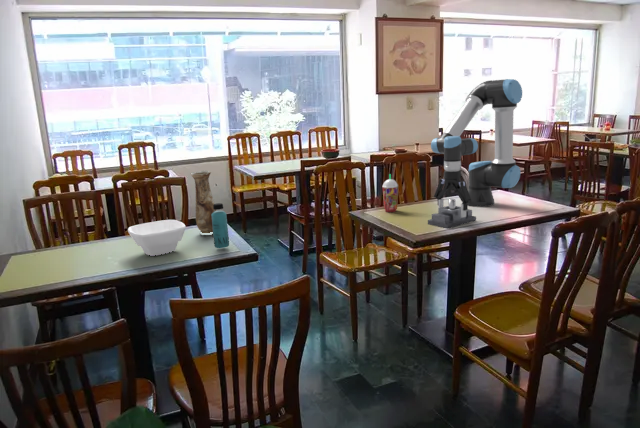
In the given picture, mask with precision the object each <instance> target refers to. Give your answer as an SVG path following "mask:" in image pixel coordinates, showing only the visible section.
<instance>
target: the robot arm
mask: <svg viewBox="0 0 640 428" xmlns="http://www.w3.org/2000/svg"><path fill="white" fill-rule="evenodd" d="M522 97H523V88H522V85H521V83H520V82H519V81H518V79H517V80H516V79H512V78H511V79H510V78H509V79H508V78H505V79H496V80H494V79H493V80H486V81H483V82H481V83H480V84H479V85H476V86H475V87H474V88H473V89H472V90H471V91H470V92H469V94H468V95H467V96H466V98H465V102H464V103H463V105H462V107H461V108H460V109H459V111H458V112H457V114H455V116H454V118H453V119H452V121H451V122H450V123H449V125H448V126H447V127H446V129H445V130H444V132H443V133H442V135H440V136H439V137H436V138H435V137H434V138H433V139H432V140H431V143H430V148H431V151H432V152H433V153H435V154H441V155H442V154H443V157H444V158H443V169H444V171H443V178H440V179H439V180H438V186H437V187H436V190H435V193H434V195H433V197H434V198H436V200H437V208H441V207H444V198H443V197H444V196H445V195H446V193H447V192H448V191H454V192H455V193H456V194H457V196H458V197H459V199H460V201H461V202H462V203H461V204H460V207H461V217H462V218H463V217H466V210H467V209H468V206H469V207H491V206H493V205H495V198H494V195H493V192H492V187H496V188H503V189H512V188H514V187H515V186H516V185H517V184H518V182H519V180H520V179H521V168H520V166H518V165H517V163H516V160H515V159H514V156H513V150H514V112H515V111H514V110H516V108H517V107H518V104H519V103H520V102H521V100H522ZM486 105H491V109H492V110H493V111H494V117H495V118H494V159H493V160H482V161H481V160H480V161H475V162H471V163H470V164H469V165H468V170H467V171H468V187H467V182H466V181H461V178H462V174H461V173H462V171H461V169H462V156H469V155H472V154H474V153H476V152H477V151H478V149H479V143H478V141H477V140H476V139H475V138H472V137H470V138H469V137H468V138H462V137H461V135H462V134H463V132H464V130H465V129H466V128H467V127H468V125H469V124H470V122H471V121H472V120H473V118H474V117H475V116H476V114H477V113H478V111H481V110H482V109H483V107H484V106H486Z"/></svg>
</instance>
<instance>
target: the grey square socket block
mask: <svg viewBox="0 0 640 428" xmlns="http://www.w3.org/2000/svg"><path fill="white" fill-rule="evenodd" d="M437 208H438V207H437ZM437 213H438V214H442V215H447V216H449V221H453V222H454V221H457V220H461V219H465V218H466V217H463V218H462V217H461V206H459V205H455V210H450V209H449V205H446V206H443V207H441V208H438V209H437Z"/></svg>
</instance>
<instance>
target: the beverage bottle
mask: <svg viewBox="0 0 640 428" xmlns="http://www.w3.org/2000/svg"><path fill="white" fill-rule="evenodd" d="M213 209H214V210H216V211H215V212H213V213H212V215H211V216H212V226H213V235H212V236H213V245H214V248H216V249H225V248H228V247H229V246H230V238H229V228H228V217H227V213H226V211H224V210H222V209H224V204H223V203H221V202H218V203H214V205H213Z"/></svg>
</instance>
